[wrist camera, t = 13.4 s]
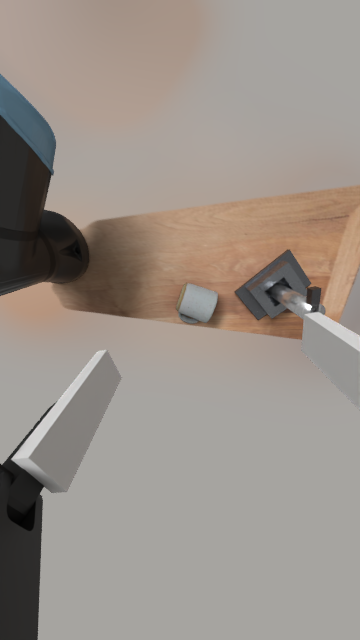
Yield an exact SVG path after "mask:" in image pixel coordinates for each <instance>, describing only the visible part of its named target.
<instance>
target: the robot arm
mask: <svg viewBox="0 0 360 640" xmlns="http://www.w3.org/2000/svg"><path fill="white" fill-rule="evenodd" d="M55 149H56V140H55V136H54V133H53V131H52V129H51V127H50V126H49V124H48V123H47V122H46V120H45V119H44V118H43V116H42V115H41V114H40V113H39V112H38V111H37V110H36V109H35V108H34V107H33V106H32V104H31V103H29V101H28V100H26V98H25V97H24V96H23V95H22V94H21V93H20V92H18V90H16V89H15V88H14V87H13V86H12V85H11V84H10V83H9V82H8V81H7V80H6V79H5V78H4V77H3V76H2V75H1V74H0V296H1V295H5V294H8V293H11V292H14V291H17V290H20V289H22V288H26V287H29V286H32V285H35V284H38V283H41V282H52V283H68V282H71V281H74V280H76V279H78V278H80V277H81V276H82V275H83V274H84V272H85V271H86V269H87V266H88V262H89V253H88V248H87V244H86V242H85V239H84V237H83V236H82V234H81V232H80V231H79V230H78V228H77V227H76V226H75V225H74V224H73V223H72V222H71V221H70V220H68V219H67V218H66V217H64V216H62V215H60V214H58V213H56V212H52V211H47V210H44V206H45V201H46V197H47V192H48V188H49V183H50V179H51V175H53V174H54V171H53V161H54V155H55ZM301 351H302V352H303V353H304V354H305V355H306V356H307V357H308V358H309V359H310V360H311V361H312V362H313V363H314V364H315V365H316V366H317V367H318V368H319V369H320V370H321V371H322V372H323V373H324V374H325V375H326V376H327V377H328V378H329V379H330V380H331V382H332V383H334V385H336V387H337V388H338V389H339V390H340V391H341V392H342V393H343V394H344V395H345V396H346V397H347V398H348V399H349V400H350V401H351V402H352V403H353V404H354V405H355V406H356V407H357V408H358V409H359V410H360V336H359V335H357V334H355V333H354V332H352V331H350V330H349V329H347V328H345V327H343V326H342V325H340V324H338V323H337V322H335V321H333V320H331V319H330V318H328V317H326V316H325V315H323V314H321V313H319V312H314V313H308V314H304V325H303V337H302V349H301ZM120 380H121V376H120V374H119V372H118V370H117V368H116V366H115V364H114V362H113V360H112V358H111V356H110V354H109V353H108V351H107V350H103V351H97V353H96V354H95V355H94V356H93V358H92V359H91V360H90V362H89V363H88V364H87V365H86V366H85V368H84V369H83V370H82V371H81V373H80V374H79V375H78V376H77V378H76V379H75V380H74V381H73V383H72V384H71V385H70V386H69V388H68V389H67V390H66V391H65V393H64V394H63V395H62V396H61V398H60V399H59V400H58V401H57V402H56V403H55V404H53V405H52V406H51V407H50V408H49V409H48V410H47V411H46V412H45V414H44V415H43V416H42V417H41V418H40V421H38V422H37V423H36V424H35V426H34V427H33V429H31V431H30V432H29V433H28V434H27V435H26V437H25V438H24V439H23V441H22V442H21V443H20V444H19V445H18V446H17V448H16V449H15V450H14V451H13V453H12V454H11V455H10V456H9V457H8V459H7V460H6V461H5V462H4V463H3V465H1V464H0V640H37V639H38V638H37V636H38V612H39V585H40V558H41V533H42V505H43V500H42V496H41V495H40V492H41V490H42V489H43V487H45V488H47V489H48V490H49V491H50V492H51V493H56V492H67V491H68V489H69V487H70V484H71V482H72V480H73V478H74V476H75V474H76V472H77V470H78V468H79V466H80V464H81V461H82V459H83V457H84V455H85V453H86V451H87V449H88V447H89V445H90V443H91V441H92V439H93V436H94V434H95V432H96V430H97V428H98V426H99V424H100V422H101V420H102V418H103V415H104V414H105V411H106V409H107V407H108V405H109V403H110V401H111V399H112V397H113V395H114V393H115V391H116V389H117V386H118V384H119V382H120Z"/></svg>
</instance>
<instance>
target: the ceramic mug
mask: <svg viewBox="0 0 360 640" xmlns="http://www.w3.org/2000/svg"><path fill="white" fill-rule="evenodd" d="M217 299H218V293H217V292H215V291H212V290H209V289H206V288H203V287H199V286H196V285H194V284H189V283H186V284H184V286H183V288H182V291H181V294H180V297H179V300H178V303H177V306H176V310H177V311H178V312H179V317H180V319H181V320H183V321H184V322H187V323H196V322H198V321H202V322H205V323H207V322H208V321H209V319H210V318H211V316H212V314H213V312H214V309H215V307H216V304H217ZM182 314H184V315H187V316H190V317H192V318H194V319H191V318H188V317H186V316H184V315H182Z"/></svg>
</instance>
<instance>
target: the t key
mask: <svg viewBox="0 0 360 640" xmlns="http://www.w3.org/2000/svg"><path fill="white" fill-rule="evenodd" d="M265 292H266V293H267V294H268V295H270V296H271V297H273V298H274V299H275V300H277V301H278V302H280V303H281V304H282V305H284V306H285V307H287V308H288V309H289V310H291V311H292V312H294V313H295V314H296V315H298V316H299V317H301V318H302V319H304V314H308V313H314V312H319V313H321V314H323V315H324V314H325V307H324V306H323V305H321V304H319V303H320V295H321V288H319V287H316V286H315V287H310V288H307V297H305V296H303V295H301V294H299V293H297V292H295V291H293V290H291V289H289V288H287V287H285V286H283V285H281V284H279V283H275V284H274V285H273V286H271V287H270V288H268V289H267V290H266V291H265Z"/></svg>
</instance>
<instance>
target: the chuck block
mask: <svg viewBox="0 0 360 640" xmlns="http://www.w3.org/2000/svg"><path fill="white" fill-rule="evenodd" d="M275 283H279V284H281V285H283V286H285V287H287V288H289V289H291V290H293V291H295V292H297V293H299V294H301V295H303V296H307V290H306V287H307V286H309V285H310V284H311V282H310V281H309V279H308V278H307V276H306V275H305V273H304V271H303V270H302V268H301V267H300V265H299V264H298V262H297V260H296V259H295V257H294V256H293V254H292V253H291V251H290V250H287V251H285V252H284V253H283V254H282V255H280V256H279V257H278V258H276V259H275V260H274V261H273V262H271V263H270V264H269V265H268V266H266V267H265V268H264V269H263V270H261V271H260V272H259V273H257V274H256V275H255V276H254V277H252V278H251V279H250V280H249V281H247V282H246V283H245V284H244V285H242V286H241V287H240V288H239V289H237V290H236V291H235V293H236V294H237V295H238V296H239V298H240V299H241V300H242V301H243V302H244V304H245V305H246V306H247V307H248V308H249V310H250V311H251V312H252V313H253V314H254V316H255V317H256V318H257V319H258V320H259V319H260V318H262V317H263V316H265V315H266V314H267V315H268V316H269V317H270V318H271V319H272V318H274V317H275V316H277V315H278V314H280V313H281V312H283V311H284V310H286V309H287V307H285V306H284V305H282V304H281V303H280V302H278V301H277V300H275V299H274V298H273V297H271V296H270V295H268V294H267V293H266V292H265V291H266V290H267V289H268V288H270V287H271V286H273V285H274V284H275Z"/></svg>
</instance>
